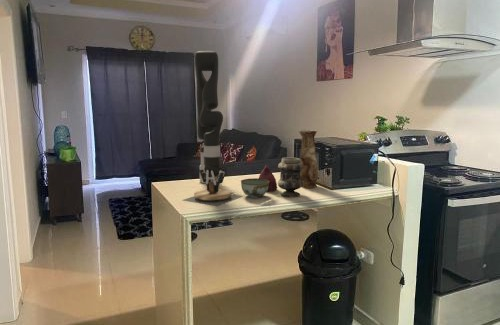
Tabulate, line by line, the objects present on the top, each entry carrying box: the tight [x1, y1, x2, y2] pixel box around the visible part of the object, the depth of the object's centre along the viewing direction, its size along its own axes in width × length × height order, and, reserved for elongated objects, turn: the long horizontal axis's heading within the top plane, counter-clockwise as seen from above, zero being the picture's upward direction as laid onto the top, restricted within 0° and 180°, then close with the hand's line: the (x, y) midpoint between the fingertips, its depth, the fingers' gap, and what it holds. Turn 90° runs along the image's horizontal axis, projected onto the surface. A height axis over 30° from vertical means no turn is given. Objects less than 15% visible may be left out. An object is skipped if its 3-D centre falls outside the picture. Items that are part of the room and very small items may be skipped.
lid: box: [193, 182, 232, 200], centre depth 178 cm, size 17×17×6 cm
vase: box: [298, 129, 319, 189], centre depth 202 cm, size 10×11×30 cm
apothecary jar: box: [277, 157, 303, 198], centre depth 185 cm, size 12×12×18 cm
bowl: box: [240, 177, 270, 199], centre depth 181 cm, size 14×13×8 cm
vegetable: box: [258, 164, 278, 193], centre depth 195 cm, size 10×10×15 cm
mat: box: [182, 194, 244, 207], centre depth 178 cm, size 20×20×1 cm
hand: (212, 191), depth 178 cm, fingers closed on lid, 3 cm apart
